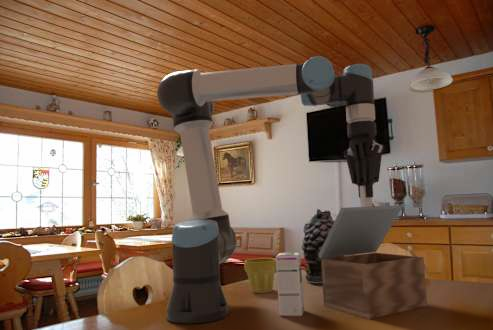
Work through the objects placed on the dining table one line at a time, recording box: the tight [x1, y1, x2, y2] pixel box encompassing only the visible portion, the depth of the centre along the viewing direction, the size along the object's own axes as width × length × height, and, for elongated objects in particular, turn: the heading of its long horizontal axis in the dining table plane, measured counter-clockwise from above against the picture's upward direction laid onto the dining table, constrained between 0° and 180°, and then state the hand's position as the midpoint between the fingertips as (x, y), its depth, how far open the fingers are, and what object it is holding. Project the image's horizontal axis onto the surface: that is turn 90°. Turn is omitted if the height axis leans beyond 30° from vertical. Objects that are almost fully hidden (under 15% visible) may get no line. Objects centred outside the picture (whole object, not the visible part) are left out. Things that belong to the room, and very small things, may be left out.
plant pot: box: [243, 257, 276, 294], centre depth 129 cm, size 10×10×10 cm
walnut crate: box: [321, 252, 428, 320], centre depth 104 cm, size 20×16×12 cm
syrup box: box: [275, 251, 305, 317], centre depth 101 cm, size 6×6×14 cm
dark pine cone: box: [301, 208, 343, 284], centre depth 144 cm, size 21×15×25 cm
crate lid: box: [318, 205, 402, 259], centre depth 109 cm, size 20×16×1 cm
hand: (366, 210), depth 107 cm, fingers closed
